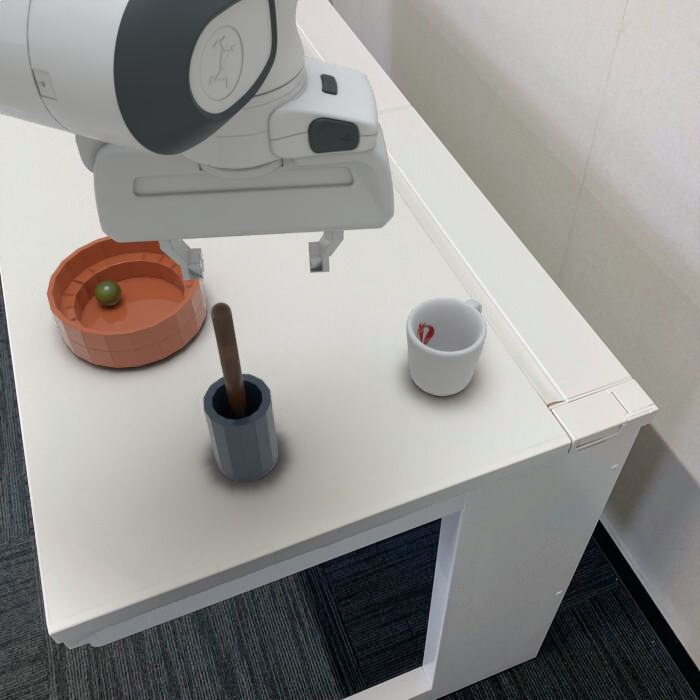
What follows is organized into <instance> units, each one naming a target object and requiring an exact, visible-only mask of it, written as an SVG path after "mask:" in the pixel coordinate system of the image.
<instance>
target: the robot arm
mask: <svg viewBox="0 0 700 700" xmlns="http://www.w3.org/2000/svg"><path fill="white" fill-rule="evenodd" d="M298 3H299V0H0V115H2V116H5V117H10V118H13V119H17V120H21V121H24V122H29V123H32V124H35V125H40V126H44V127H47V128H51V129H54V130H58V131H62V132H65V133H68V134H69V133H70V134H73V135H74V139H75V144H76V147H77V151H78V153H79V157H80V160H81V162H82V164H83V165H84V166H85V168H86V169H87V170H88V171H89V172H91V173H92V174H93V176H92V177H93V190H94V192H93V193H94V199H95V200H94V201H95V205H96V206H95V207H96V211H97V217H98V221H99V224H100V229H101V231H102V232H103V233H104V234H105V235H106V236H109V237H110V238H112V239H113V240H114V241H116V242H121V243H123V242H142V241H159V245H160V249H161V250H162V251H163V252H164V253H165V254H166V255H168V256H169V257H170V258H171V259H172V260H173V261H175V262H176V263H177V264H178V265H180V267H181V271H182V276H183V279H184V280H196V279H202V280H204V279H205V275H204V272H205V261H204V258H203V250H202V248H201V247H200V248H198V247H197V248H191V247H190V246H189V245H188V244H187V243H186V242H185V241H184V240H193V239H194V240H195V239H212V238H213V239H214V238H229V237H248V236H267V235H286V234H287V235H288V234H302V233H303V234H304V233H305V234H306V233H321V232H323V233H322V235H321V237H320V239H319V240H318V241H309V242H308V243H307V244H308V261H309V262H308V263H309V272H310V274H311V273H312V274H313V273H330V257H332V255H333V254H334V253H335V252H336V250H337V249H338V248H339V246H340V245H341V244H342V242H343V241H344V237H345V236H344V231H356V230H357V231H358V230H377V229H383V228H384V227H385V226H386V225H387V224H388V223H389V222H390V221H391V220H392V219H393V218H394V216H395V193H394V184H393V177H392V171H391V164H390V160H389V155H388V149H387V145H386V140H385V136H384V135H385V134H384V131H383V128H382V126H381V124H380V122H379V116H378V115H379V114H378V106H377V101H376V97H375V93H374V89H373V87H372V85H371V82H370V80H369V78H368V77H367V75H366V74H365V73H364V72H362V71H361V70H359V69H355V68H351V67H347V66H344V65H343V66H342V65H339V64H336V63H332V62H328V61H325V60H321V59H317V58H313V57H310V56H307V55H305V49H304V45H303V42H302V39H301V37H300V33H299V31H298V26H297V20H296V19H297V18H296V17H297V16H296V15H297V6H298Z"/></svg>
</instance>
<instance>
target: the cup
mask: <svg viewBox="0 0 700 700" xmlns="http://www.w3.org/2000/svg"><path fill="white" fill-rule="evenodd" d="M482 311H483V306H482V304H481V302H480V301H478V300H476V299H472V298H471V299H468V300H466V301H464V300H461V299H458V298H452V297H436V298H431V299H427V300H425V301H423V302H421V303H419V304H417V305H415V307H414V308H413V309H412V310H411V311H410V313H409V315H408V316H407V319H406V324H405V330H406V345H407V359H408V370H409V373H410V374H409V375H410V377H411V379H412V381H413V382H414V384H415V386H417V387H418V388H419V389H420V390H421V391H424V393H427V394H429V395H432V396H438V397H446V396H453V395H456V394H458V393H460V392H461V391H463V390H464V389H465V388H466V387H467V386H468V385H469V383H470V382H471V380H472V378H473V376H474V374H475V370H476V368H477V365H478V361H479V358H480V357H481V353H482V350H483V347H484V344H485V342H486V338H487V335H488V326H487V321H486V319H485V318H484V316H483V315H482Z"/></svg>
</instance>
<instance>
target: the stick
mask: <svg viewBox="0 0 700 700" xmlns="http://www.w3.org/2000/svg"><path fill="white" fill-rule="evenodd" d="M210 310H211V311H210V316H211V321H212V326H213V331H214V336H215V340H216V346H217V347H216V348H217V351H218V357H219V360H220V367H221V371H222V377H224V382H225V387H226V392H227V397H228V402H229V407H230V412H231V417H232V419H236V420H239V419H242V418H245V417H249V412H248V406H247V400H246V394H245V388H244V382H243V376H242V374H243V371H242V366H241V359H240V354H239V348H238V341H237V336H236V331H235V325H234V317H233V313H232V309H231V306H230V305H229V304H227V303H226V302H224V301H223V302H221V301H220V302H216V303H215V304H214V305H212V307H211V309H210Z"/></svg>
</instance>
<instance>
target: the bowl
mask: <svg viewBox="0 0 700 700" xmlns="http://www.w3.org/2000/svg"><path fill="white" fill-rule="evenodd" d="M104 280H112V281H114V282H116V283H117V284H118V285H119V286H120V288H121V290H122V297H121V299H120V301H119V302H118V303H117V304H115V305H113V306H104V305H101V304H100V303H99V302H98V301H97V300H96V298H95V295H94V291H95V287H96V286H97V284H98V283H100V282H101V281H104ZM203 280H204V279H196V280H184V279H183V276H182V271H181V267H180V265H178V264H177V263H176V262H175V261H173V260H172V259H171V258H170V257H169V256H168V255H166V254H165V253H164V252H163V251H162V250H161V249H160V245H159V241H142V242H123V243H121V242H116V241H114V240H113V239H112V238H110V237H109V236H108V235H106V236H104V237H100V238H98V239H94V240H93V241H90V242H89V243H86V244H84V245H83V246H80V247H78V248H76V249H75V250H74V251H73V252H71V253H70V254H69V255H68V256H66V257H65V258H64V259H62V260H61V262H60V263H59V264H58V266H57V267H56V269H55V270H54V271H53V273H52V274H51V276H50V278H49V281H48V286H47V290H46V297H47V302H48V304H49V310H50V311H51V314H52V317H53V318H54V321H55V323H56V326H57V329H58V330H59V333H60V336H61V338H62V340H63V343H64V344H65V345H66V346H67V347H68V349H70V351H71V352H72V353H73V354H74V355H75V356H77V357H79V358H80V359H83V360H84V361H86V362H89V364H90V363H91V364H92V365H96V366H102V367H109V368H114V369H115V368H116V369H121V368H122V369H123V368H135V367H143V366H145V365H148V364H152V363H155V362H158V361H161V360H164V359H165V358H168V357H169V356H171V355H172V354H175V353H176V352H178V351H179V350H181V349H183V348H184V347H185V346H186V345H188V344H189V342H190V341H191V340H193V338H194V337H195V336H196V335H197V334H198V333H199V331H200V330H201V327H202V325H203V324H204V321H205V319H206V318H207V300H208V299H207V296H206V290H205V286H204V281H203Z"/></svg>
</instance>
